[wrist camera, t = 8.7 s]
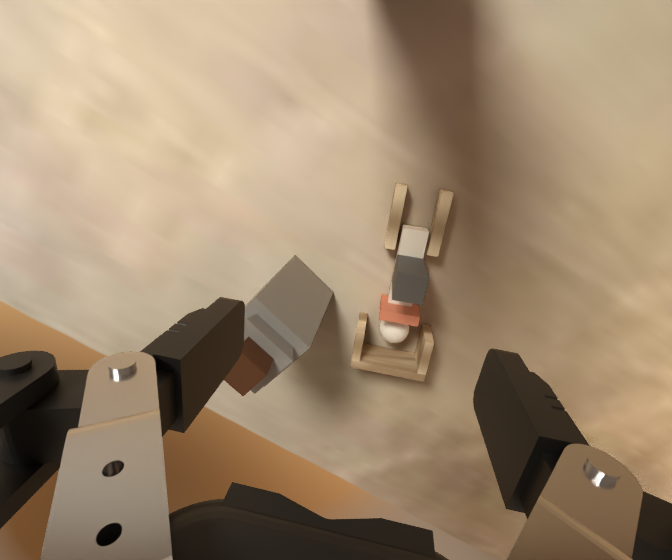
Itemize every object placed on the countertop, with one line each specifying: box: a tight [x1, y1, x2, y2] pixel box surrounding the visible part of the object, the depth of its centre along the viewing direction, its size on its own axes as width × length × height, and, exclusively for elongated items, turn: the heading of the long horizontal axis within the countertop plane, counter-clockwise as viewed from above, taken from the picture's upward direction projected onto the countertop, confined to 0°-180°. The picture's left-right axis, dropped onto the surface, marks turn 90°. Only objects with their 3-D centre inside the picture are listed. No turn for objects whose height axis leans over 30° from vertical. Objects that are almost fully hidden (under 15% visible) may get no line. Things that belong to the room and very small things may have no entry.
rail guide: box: [384, 183, 454, 257], centre depth 38 cm, size 7×6×2 cm
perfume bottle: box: [224, 255, 333, 396], centre depth 36 cm, size 7×7×18 cm
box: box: [350, 313, 434, 382], centre depth 43 cm, size 5×9×4 cm, turn 82°
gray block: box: [379, 224, 429, 327], centre depth 37 cm, size 10×4×8 cm, turn 173°
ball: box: [380, 320, 409, 343], centre depth 42 cm, size 4×4×4 cm
